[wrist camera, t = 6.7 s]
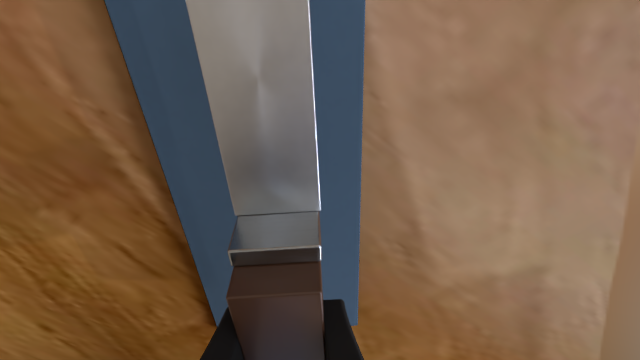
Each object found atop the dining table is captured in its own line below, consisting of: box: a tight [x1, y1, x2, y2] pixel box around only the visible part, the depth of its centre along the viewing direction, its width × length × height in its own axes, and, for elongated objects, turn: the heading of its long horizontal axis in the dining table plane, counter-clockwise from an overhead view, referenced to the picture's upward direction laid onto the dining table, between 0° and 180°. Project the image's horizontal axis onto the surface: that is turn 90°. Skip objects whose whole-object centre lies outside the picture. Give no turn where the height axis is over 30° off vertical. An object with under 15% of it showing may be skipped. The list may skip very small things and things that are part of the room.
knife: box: [185, 0, 326, 360], centre depth 8 cm, size 19×3×3 cm, turn 3°
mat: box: [104, 0, 365, 327], centre depth 15 cm, size 9×23×1 cm, turn 3°
